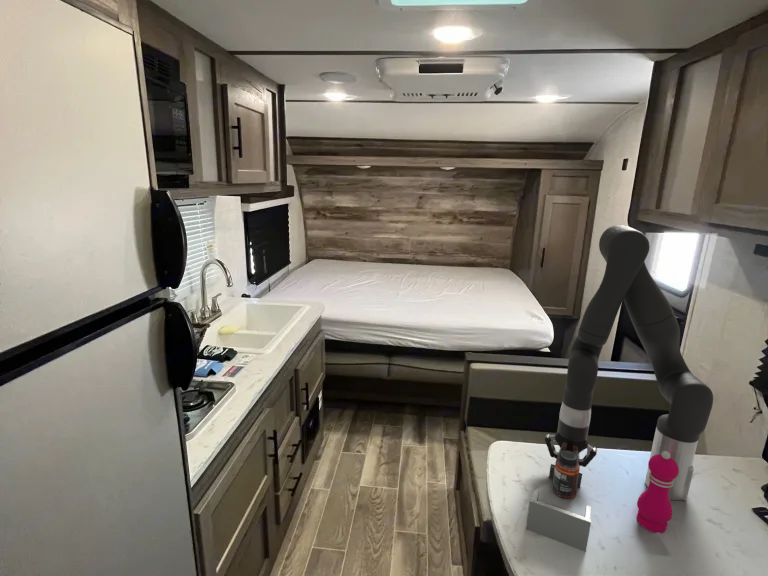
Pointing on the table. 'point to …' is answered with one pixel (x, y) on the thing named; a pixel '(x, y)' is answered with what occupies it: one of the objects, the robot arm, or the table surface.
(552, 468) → the scraper
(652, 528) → the pepper mill
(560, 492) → the supplement bottle
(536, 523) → the grey u-shaped bracket
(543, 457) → the table surface
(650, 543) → the table surface
